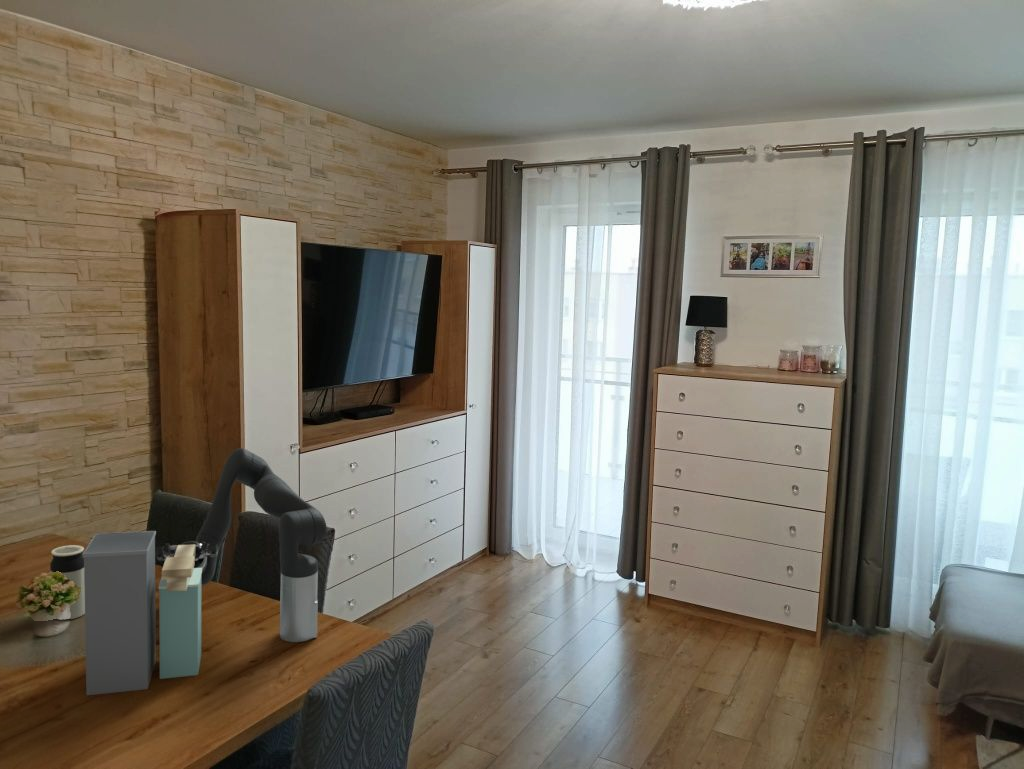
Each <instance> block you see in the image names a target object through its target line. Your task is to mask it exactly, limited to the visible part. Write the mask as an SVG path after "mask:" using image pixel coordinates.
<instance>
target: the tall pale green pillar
mask: <svg viewBox="0 0 1024 769" xmlns="http://www.w3.org/2000/svg"><path fill="white" fill-rule="evenodd" d="M201 574H202V568H194V569H193V573H192V577H190V579H189V583H188V586H187V590H186V591H171V592H167V579H162V577H161V578H160V581H159V583H158V586H157V590H158V591H159V592H158V594H159V597H158V598H159V608H158V609H159V614H158V616H159V618H158V619H159V680H160V679H161V680H162V679H172V678H181V677H183V678H184V677H191V676H198V675H199V669H200V663H201V658H202V585H201Z"/></svg>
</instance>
